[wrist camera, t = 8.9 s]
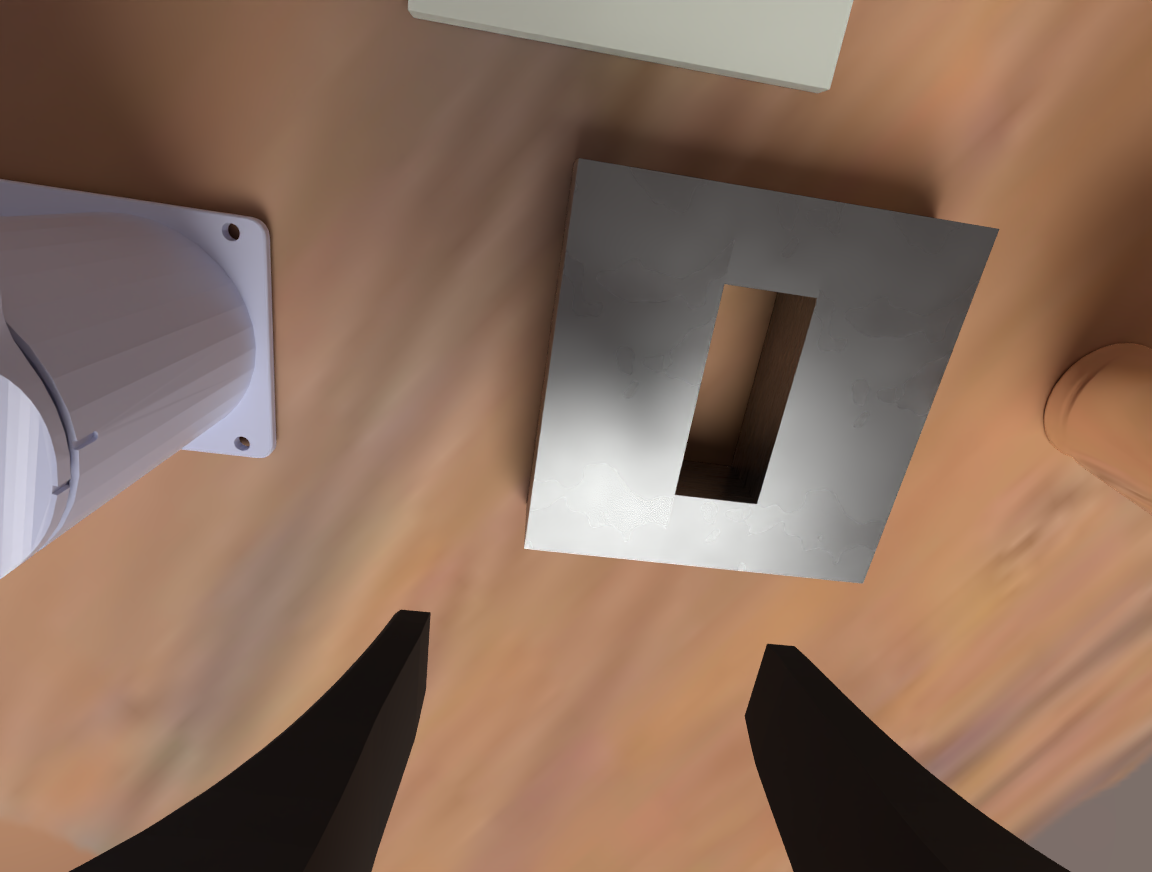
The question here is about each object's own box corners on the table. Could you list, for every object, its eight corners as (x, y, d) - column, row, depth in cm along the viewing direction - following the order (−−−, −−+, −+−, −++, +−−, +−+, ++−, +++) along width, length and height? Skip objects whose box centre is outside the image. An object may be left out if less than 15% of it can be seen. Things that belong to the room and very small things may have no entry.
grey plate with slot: (526, 505, 23) (524, 548, 20) (573, 162, 19) (578, 158, 16) (826, 538, 24) (863, 583, 22) (936, 223, 20) (999, 229, 17)
